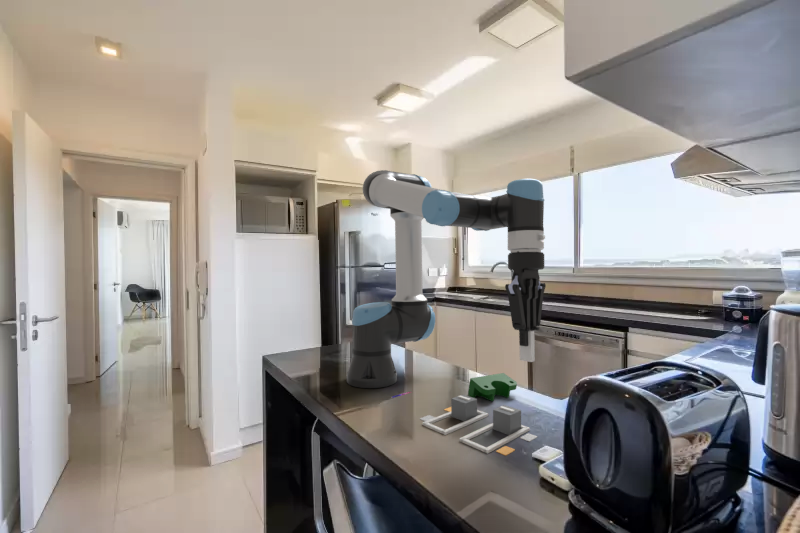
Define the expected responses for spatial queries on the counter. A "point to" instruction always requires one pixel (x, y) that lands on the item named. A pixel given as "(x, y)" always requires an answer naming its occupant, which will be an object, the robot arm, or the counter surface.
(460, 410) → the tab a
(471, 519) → the counter surface
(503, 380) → the green notched bracket
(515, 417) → the grey cube
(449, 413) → the switch board
